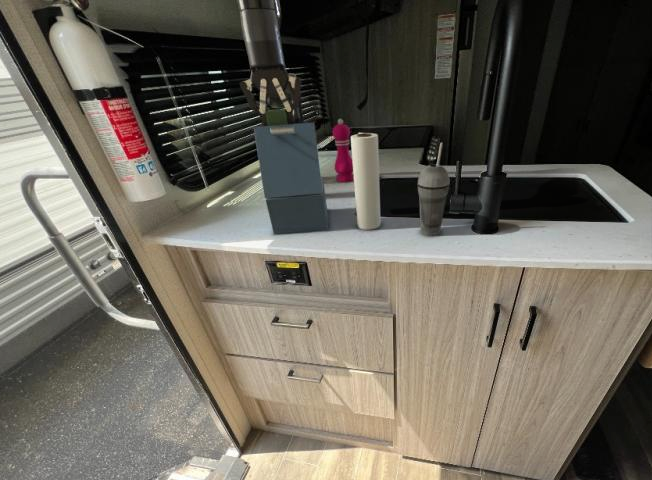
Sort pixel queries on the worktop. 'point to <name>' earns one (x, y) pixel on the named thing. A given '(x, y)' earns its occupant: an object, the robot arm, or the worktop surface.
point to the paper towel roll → (366, 179)
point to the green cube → (276, 117)
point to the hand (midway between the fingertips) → (280, 130)
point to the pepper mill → (343, 153)
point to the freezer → (298, 213)
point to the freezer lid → (288, 160)
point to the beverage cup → (432, 196)
